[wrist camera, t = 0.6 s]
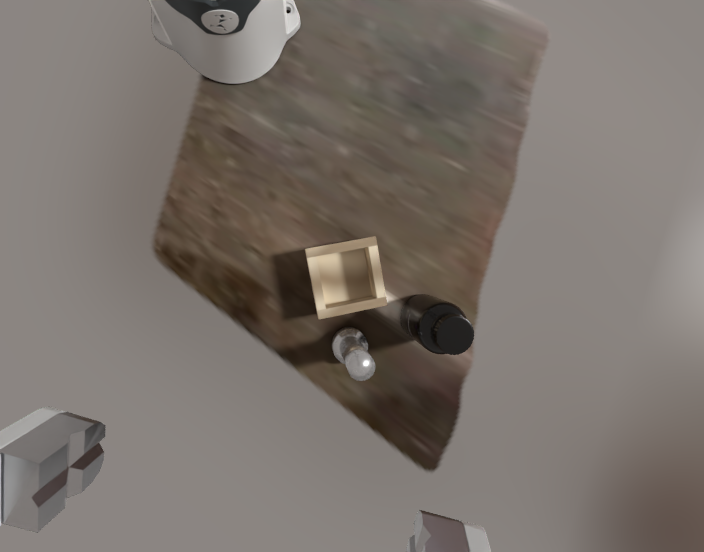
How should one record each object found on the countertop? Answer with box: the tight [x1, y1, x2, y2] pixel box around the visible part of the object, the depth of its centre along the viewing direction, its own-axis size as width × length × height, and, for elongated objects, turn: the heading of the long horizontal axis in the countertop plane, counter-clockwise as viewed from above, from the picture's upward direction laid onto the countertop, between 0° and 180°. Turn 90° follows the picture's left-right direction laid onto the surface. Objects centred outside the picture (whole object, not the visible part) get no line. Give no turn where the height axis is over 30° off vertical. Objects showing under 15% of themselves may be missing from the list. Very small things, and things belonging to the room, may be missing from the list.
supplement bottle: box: [400, 294, 474, 355], centre depth 48 cm, size 7×7×12 cm
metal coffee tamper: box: [332, 327, 375, 381], centre depth 47 cm, size 5×5×11 cm
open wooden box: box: [305, 236, 387, 319], centre depth 49 cm, size 9×9×4 cm
